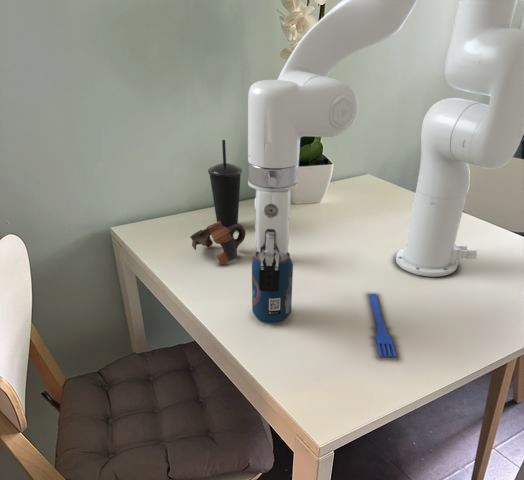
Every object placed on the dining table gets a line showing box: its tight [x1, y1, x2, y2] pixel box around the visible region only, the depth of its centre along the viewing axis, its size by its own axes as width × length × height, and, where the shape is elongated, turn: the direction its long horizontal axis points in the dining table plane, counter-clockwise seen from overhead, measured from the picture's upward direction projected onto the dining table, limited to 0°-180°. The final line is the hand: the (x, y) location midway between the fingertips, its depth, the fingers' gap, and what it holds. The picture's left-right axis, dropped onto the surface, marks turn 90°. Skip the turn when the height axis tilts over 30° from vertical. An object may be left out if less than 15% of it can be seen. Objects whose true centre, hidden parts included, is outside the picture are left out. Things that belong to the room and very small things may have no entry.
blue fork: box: [368, 293, 397, 359], centre depth 88 cm, size 19×3×1 cm, turn 177°
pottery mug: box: [189, 221, 247, 266], centre depth 109 cm, size 12×10×8 cm
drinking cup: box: [207, 139, 243, 227], centre depth 116 cm, size 8×8×20 cm
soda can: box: [251, 247, 294, 325], centre depth 87 cm, size 7×7×12 cm
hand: (270, 276), depth 86 cm, fingers open, 9 cm apart
